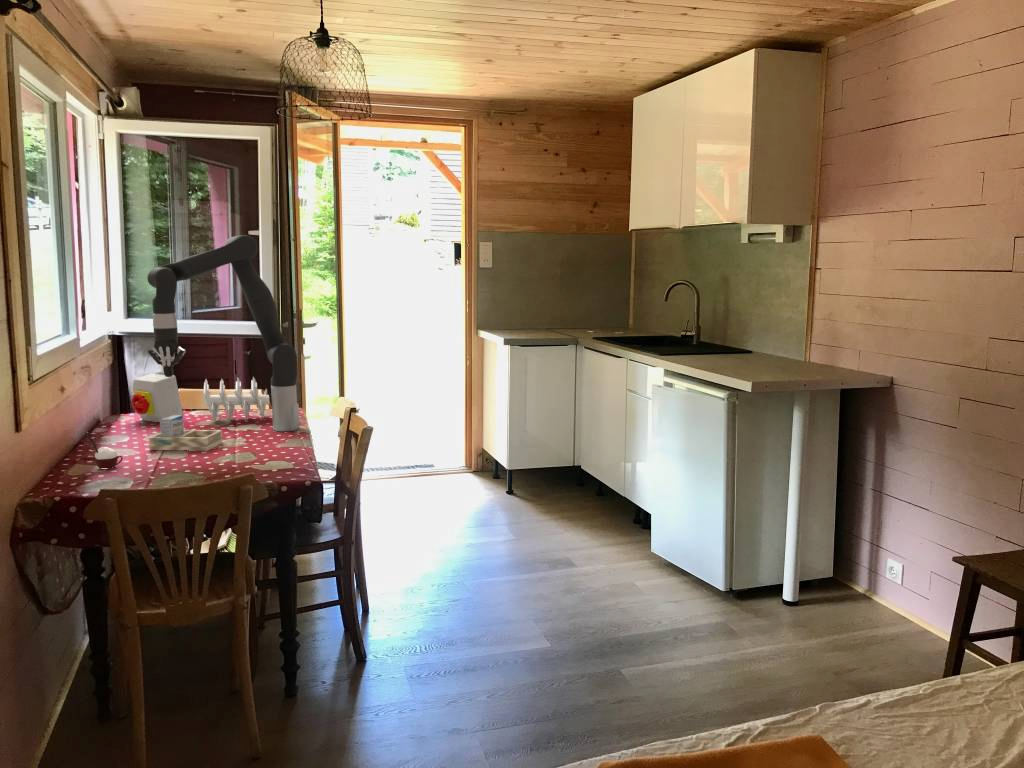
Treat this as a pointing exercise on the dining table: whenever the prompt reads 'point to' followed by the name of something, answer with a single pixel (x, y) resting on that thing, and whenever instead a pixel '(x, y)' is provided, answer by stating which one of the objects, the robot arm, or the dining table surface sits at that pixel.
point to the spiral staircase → (234, 400)
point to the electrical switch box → (156, 397)
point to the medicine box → (172, 426)
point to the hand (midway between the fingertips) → (169, 376)
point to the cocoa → (105, 456)
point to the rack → (187, 441)
